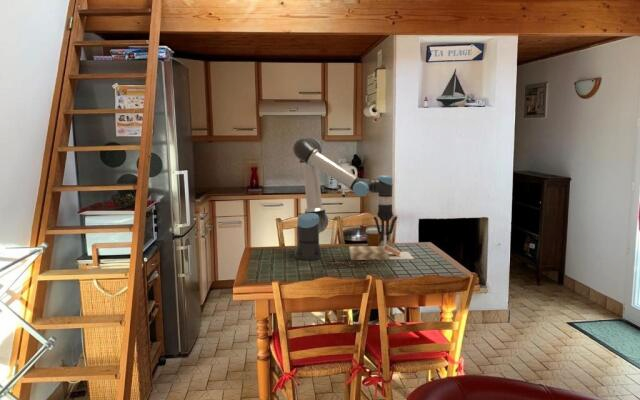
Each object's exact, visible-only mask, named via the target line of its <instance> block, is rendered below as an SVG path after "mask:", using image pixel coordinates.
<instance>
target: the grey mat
mask: <svg viewBox="0 0 640 400" xmlns="http://www.w3.org/2000/svg"><path fill="white" fill-rule="evenodd" d="M388 252H389V251H388ZM399 252H400V255H399V256H397V255H395V254H393V253H391V252H389V260H390V261H412V260H413V261H414V260H415V258H414V257H413V256H412V255H411V253H410V251H399Z"/></svg>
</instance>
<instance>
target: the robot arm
mask: <svg viewBox="0 0 640 400" xmlns="http://www.w3.org/2000/svg"><path fill="white" fill-rule="evenodd" d="M292 147H293V148H292V151H293V154H294V156H295V157H296V158H297V159H298V160H299V164H300V165H302V170H303V179H304V188H305V200H306V208H305V210H304V213H302V214H301V213H300V215H299V216H298V217H297V244H296V248H295V250H294V258H295V259H297V260H301V261H315V260H319V259H322V258H323V251H322V249H321V245H320V234H321V233H322V232H324V231H325V230H326V229H327V228H328V226H329V217H328V215H327V214H326V208H324V207H323V203H322V201H323V200H322V192H321V183H320V182H321V181H320V180H321V179H320V171H321V172H323V173H325V175H327V176H329V177H331V178H332V179H333V180H335V181H336V182H338V183H340V184H341V185H343V186H345V187H346V188H348V189H350V190H351V191H352V192H353V193H354V195H355V196H357V197H364V196H366V195H367V194H378V200H377V201H378V202H377V203H378V205H377V208H378V209H377V214H376V215H375V216H373V220H374V222H375V227H376V228H377V231H378V233H379V234H381V238H380V241H382V246H383V247H386V245H388V244H387V241H389V238H390V237H389V236H390V235H392V233H393V231H394V226H395V222H396V221H397V219H398V217H397V216H396V215H394V213H393V185H394V184H393V176H392V175H386V174H385V175H379V176H378V178H360V177H358V176H357V175H355V174H353V173H352V172H351V171H349V170H347V168H344V167H342V166H341V165H339V164H338V163H337V162H335V161H333V160H332V159H330V158H328V157H327V156H326V155H324V154H322V149H323V148H322V144H321V142H320V141H318V140H317V139H316V138H312V137H308V138H307V137H304V138H302V137H301V138H299V139H297V140H296V141H295V142H294V144H293V146H292ZM319 170H320V171H319ZM378 219H380V223H381V224H379V220H378ZM390 220H391V223H390ZM389 224H390V225H389ZM380 225H381V226H380ZM380 229H381V232H380Z"/></svg>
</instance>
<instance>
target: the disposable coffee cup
mask: <svg viewBox="0 0 640 400" xmlns="http://www.w3.org/2000/svg"><path fill="white" fill-rule="evenodd" d="M380 232H381V228H380ZM365 233H366V242H367V246H380V244H381V234H379V233H378V231H377V227H366V230H365Z"/></svg>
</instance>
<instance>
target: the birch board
mask: <svg viewBox="0 0 640 400" xmlns="http://www.w3.org/2000/svg"><path fill="white" fill-rule="evenodd" d="M348 250H349V251H348V253H349V257H350V261H351V260H352V261H363V260H364V261H366V260H367V261H373V260H375V259H377V260H375V261H380V260H381V261H386V260H387V261H388V260H389V251H387V250H386V249H385V247H383V245H381V246H380V245H379V246H368V245H367V246H364V245H363V246H360V245H359V246H357V245H356V246H349V249H348Z"/></svg>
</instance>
